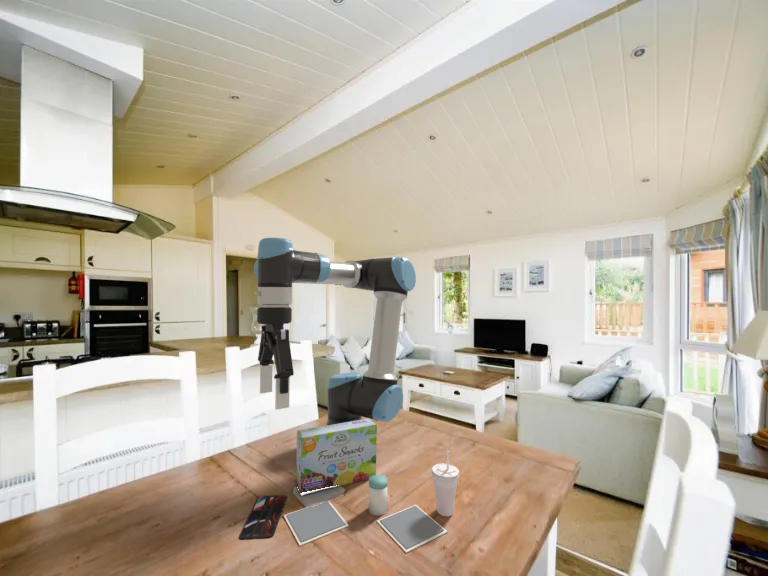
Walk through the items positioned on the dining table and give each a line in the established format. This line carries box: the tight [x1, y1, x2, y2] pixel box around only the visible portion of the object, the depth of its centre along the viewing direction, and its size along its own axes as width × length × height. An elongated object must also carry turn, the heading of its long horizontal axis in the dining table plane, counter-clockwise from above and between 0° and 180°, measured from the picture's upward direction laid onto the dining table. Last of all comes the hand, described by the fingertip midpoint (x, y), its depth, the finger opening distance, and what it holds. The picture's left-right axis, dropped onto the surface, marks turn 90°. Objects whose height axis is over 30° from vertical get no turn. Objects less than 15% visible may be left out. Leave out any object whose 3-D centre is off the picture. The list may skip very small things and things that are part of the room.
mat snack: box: [283, 500, 349, 547], centre depth 76 cm, size 11×11×1 cm
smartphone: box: [238, 494, 288, 541], centre depth 78 cm, size 7×1×15 cm
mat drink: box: [376, 504, 448, 554], centre depth 74 cm, size 11×11×1 cm
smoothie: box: [431, 450, 460, 517], centre depth 80 cm, size 6×6×14 cm
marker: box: [368, 474, 389, 517], centre depth 80 cm, size 4×4×7 cm
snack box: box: [295, 418, 378, 494], centre depth 92 cm, size 21×6×15 cm, turn 117°
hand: (273, 399), depth 77 cm, fingers open, 13 cm apart
